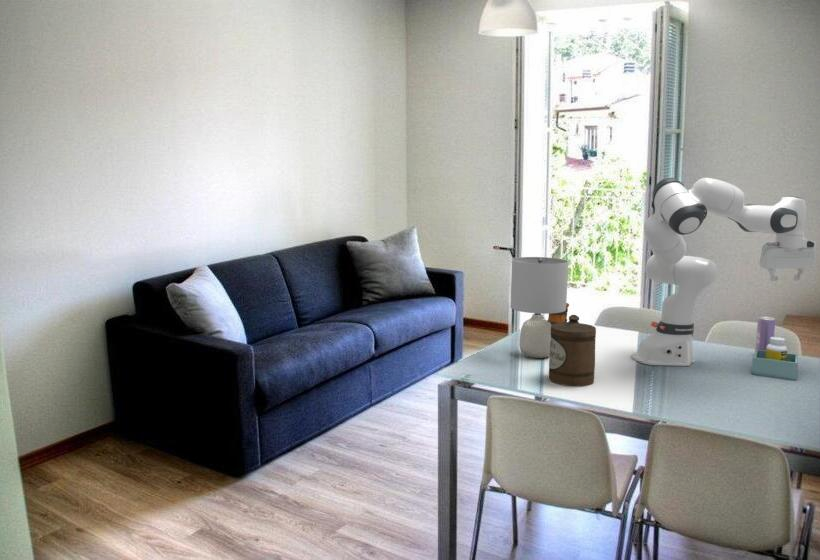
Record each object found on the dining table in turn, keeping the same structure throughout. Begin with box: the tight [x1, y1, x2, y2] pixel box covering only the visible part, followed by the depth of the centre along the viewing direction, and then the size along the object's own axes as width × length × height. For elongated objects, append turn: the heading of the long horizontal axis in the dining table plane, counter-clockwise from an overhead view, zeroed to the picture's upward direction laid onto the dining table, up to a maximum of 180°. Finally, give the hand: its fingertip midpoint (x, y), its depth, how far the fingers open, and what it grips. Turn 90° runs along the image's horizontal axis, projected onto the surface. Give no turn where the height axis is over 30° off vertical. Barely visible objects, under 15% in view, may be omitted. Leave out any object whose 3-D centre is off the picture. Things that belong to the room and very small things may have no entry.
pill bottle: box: [765, 336, 788, 361], centre depth 249 cm, size 6×6×12 cm
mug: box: [547, 302, 570, 325], centre depth 312 cm, size 13×10×12 cm
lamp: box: [509, 256, 569, 359], centre depth 266 cm, size 20×20×37 cm
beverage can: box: [754, 315, 776, 351], centre depth 272 cm, size 6×6×15 cm
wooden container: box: [548, 314, 597, 387], centre depth 237 cm, size 15×15×22 cm
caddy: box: [751, 349, 799, 381], centre depth 250 cm, size 14×14×6 cm
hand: (785, 280), depth 256 cm, fingers open, 8 cm apart
